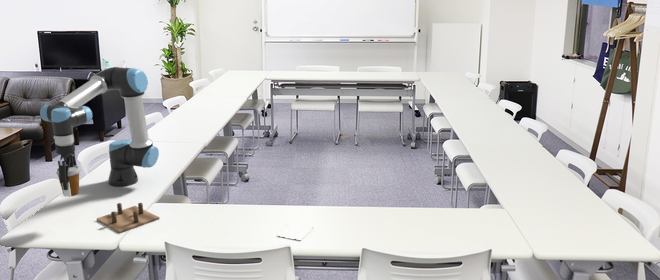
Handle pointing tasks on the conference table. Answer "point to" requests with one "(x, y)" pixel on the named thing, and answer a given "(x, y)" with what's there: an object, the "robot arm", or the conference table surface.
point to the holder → (127, 218)
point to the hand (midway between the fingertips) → (71, 192)
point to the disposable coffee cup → (72, 180)
